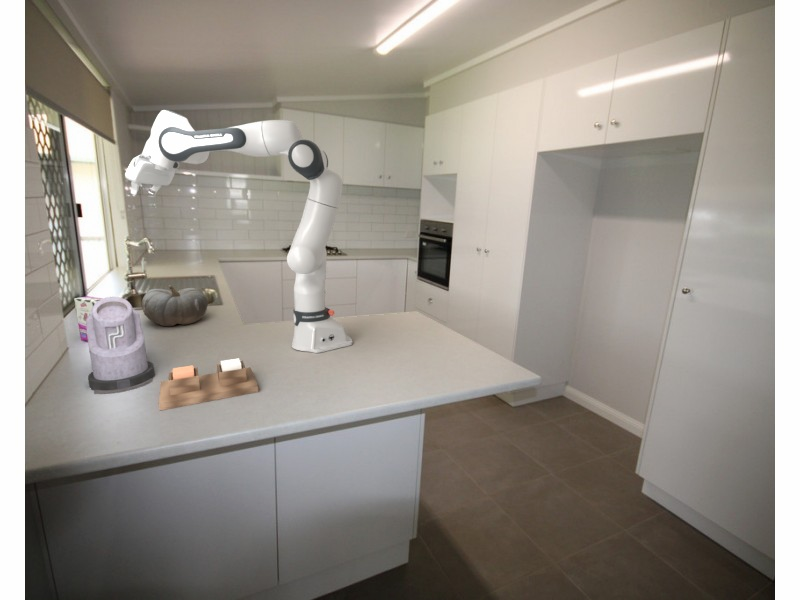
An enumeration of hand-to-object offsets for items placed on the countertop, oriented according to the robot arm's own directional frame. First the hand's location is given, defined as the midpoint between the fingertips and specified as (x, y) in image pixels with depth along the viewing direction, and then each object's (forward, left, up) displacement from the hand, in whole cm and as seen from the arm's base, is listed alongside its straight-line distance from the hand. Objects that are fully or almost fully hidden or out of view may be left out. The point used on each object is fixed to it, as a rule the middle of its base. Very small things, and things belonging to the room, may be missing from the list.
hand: (142, 194), depth 137 cm
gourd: (-5, -28, -54) cm, 61 cm away
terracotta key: (-7, +50, -50) cm, 71 cm away
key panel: (-13, +50, -54) cm, 74 cm away
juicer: (+10, +26, -54) cm, 61 cm away
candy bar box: (+22, -13, -54) cm, 60 cm away
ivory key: (-19, +50, -49) cm, 73 cm away
